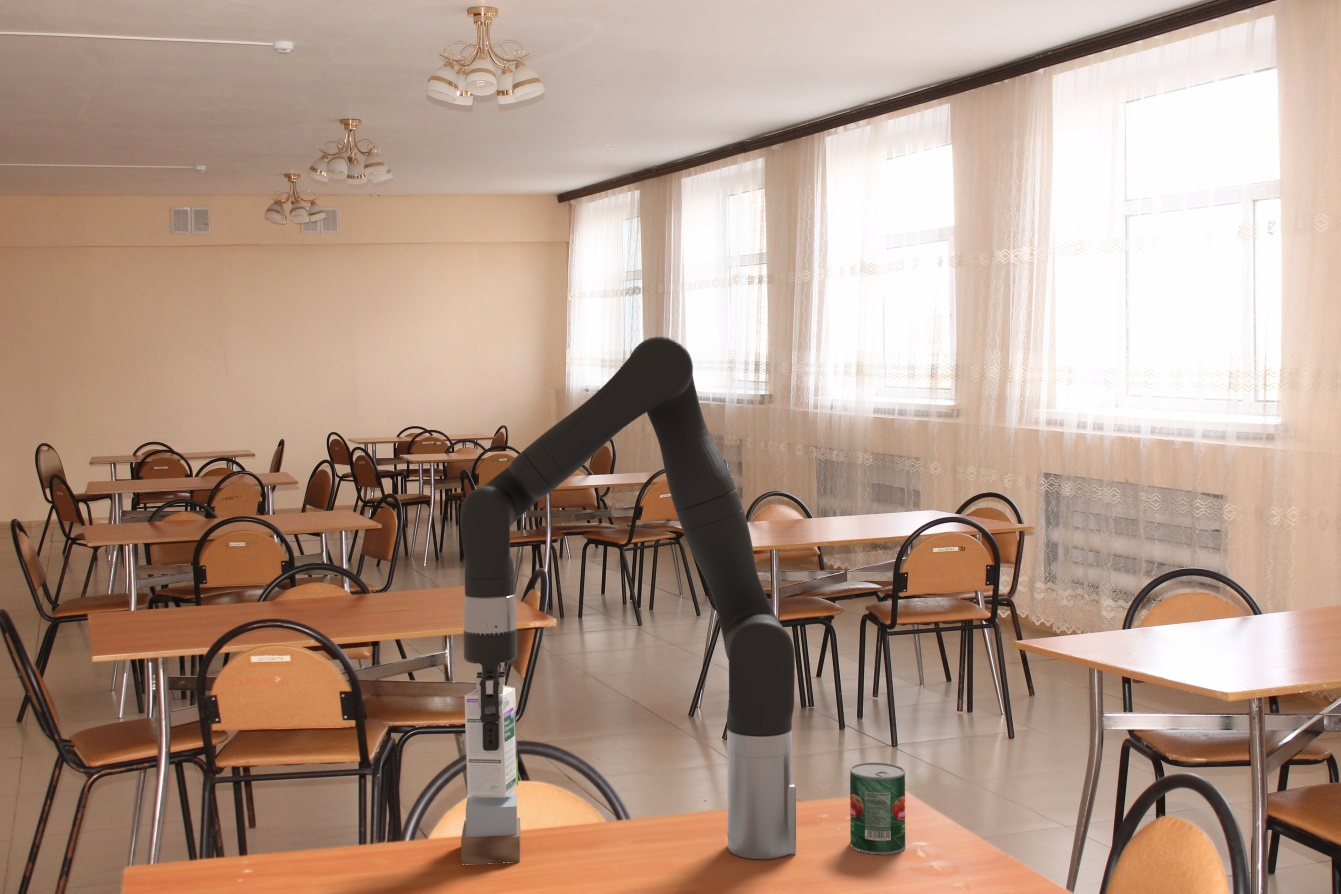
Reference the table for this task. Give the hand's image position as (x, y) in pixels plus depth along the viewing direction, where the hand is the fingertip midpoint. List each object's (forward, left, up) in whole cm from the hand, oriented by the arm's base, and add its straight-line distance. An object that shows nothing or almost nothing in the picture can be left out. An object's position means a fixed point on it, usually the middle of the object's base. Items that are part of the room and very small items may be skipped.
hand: (491, 743), depth 169 cm
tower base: (0, 0, -16) cm, 16 cm away
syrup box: (0, 0, -7) cm, 7 cm away
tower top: (0, 0, -12) cm, 12 cm away
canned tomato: (-55, +5, -16) cm, 57 cm away
